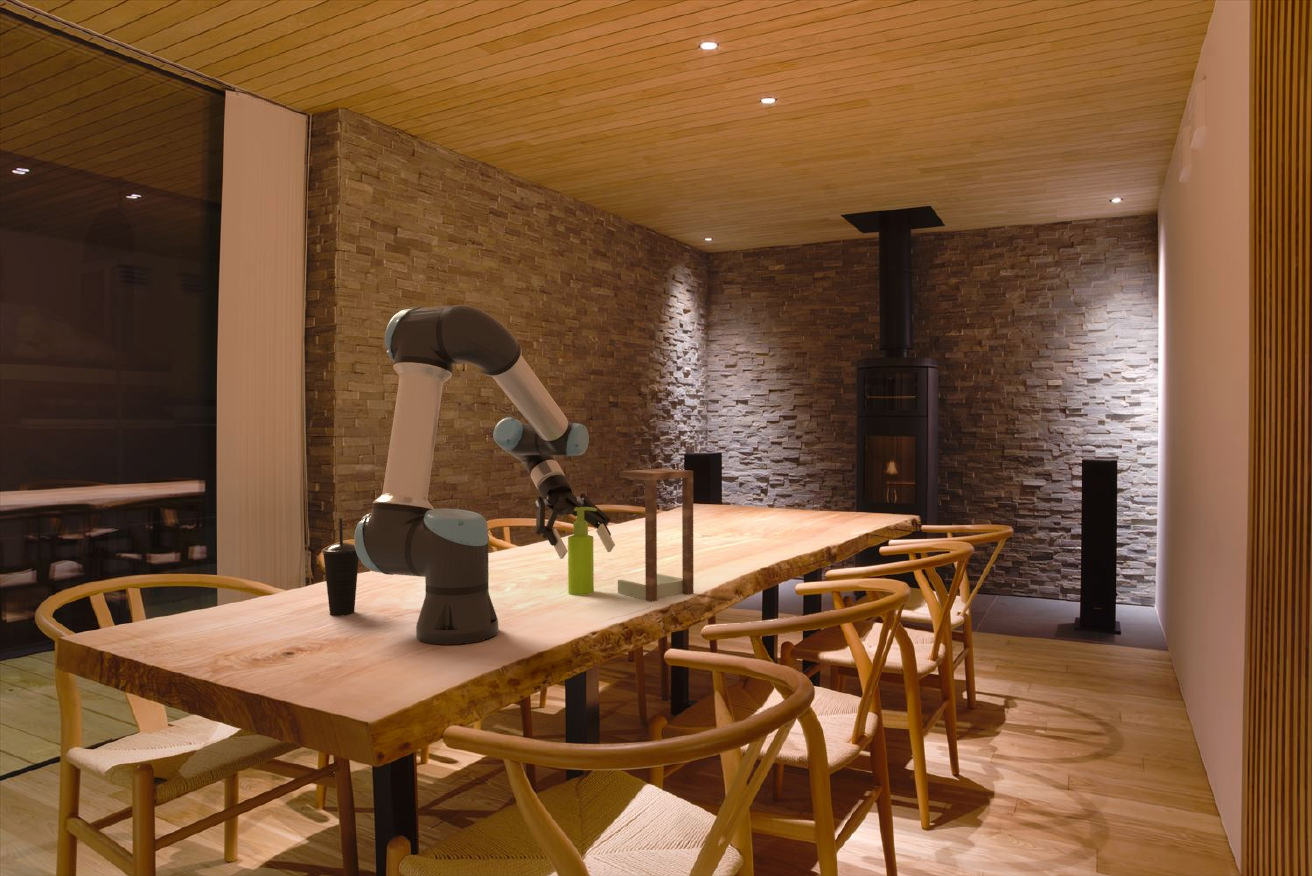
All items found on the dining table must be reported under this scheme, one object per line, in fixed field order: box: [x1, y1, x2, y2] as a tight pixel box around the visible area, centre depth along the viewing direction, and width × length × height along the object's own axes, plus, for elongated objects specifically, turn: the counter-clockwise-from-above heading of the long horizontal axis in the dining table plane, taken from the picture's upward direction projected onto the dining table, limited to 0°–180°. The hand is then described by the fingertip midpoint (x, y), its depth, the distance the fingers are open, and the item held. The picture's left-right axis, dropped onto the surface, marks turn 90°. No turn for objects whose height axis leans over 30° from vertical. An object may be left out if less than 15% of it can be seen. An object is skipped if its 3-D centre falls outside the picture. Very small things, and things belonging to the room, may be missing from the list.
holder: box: [617, 573, 683, 601], centre depth 197 cm, size 12×10×3 cm
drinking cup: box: [321, 517, 360, 617], centre depth 177 cm, size 8×8×20 cm
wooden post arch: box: [619, 468, 694, 603], centre depth 195 cm, size 13×11×28 cm
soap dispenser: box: [567, 506, 598, 596], centre depth 197 cm, size 6×7×20 cm
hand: (588, 551), depth 196 cm, fingers open, 13 cm apart
